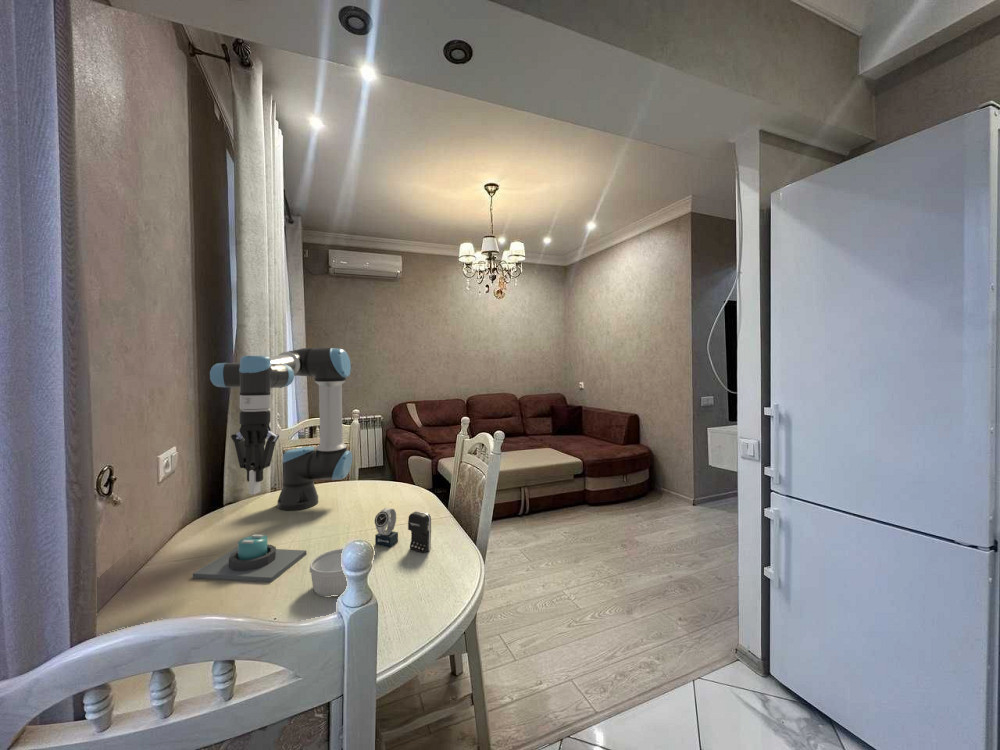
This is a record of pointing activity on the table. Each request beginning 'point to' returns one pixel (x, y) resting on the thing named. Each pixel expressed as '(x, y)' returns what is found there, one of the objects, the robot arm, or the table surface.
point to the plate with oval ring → (251, 566)
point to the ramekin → (328, 574)
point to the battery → (420, 531)
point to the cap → (252, 547)
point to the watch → (381, 522)
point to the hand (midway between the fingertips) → (254, 492)
